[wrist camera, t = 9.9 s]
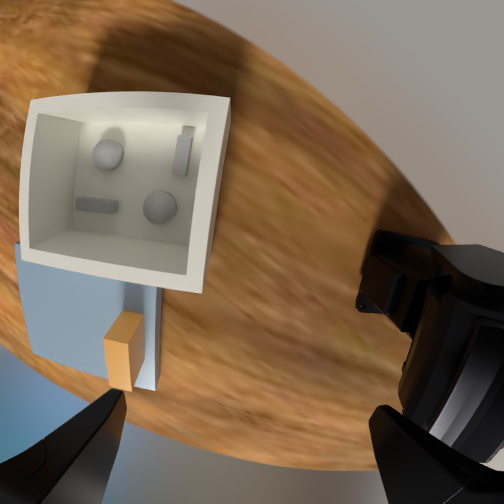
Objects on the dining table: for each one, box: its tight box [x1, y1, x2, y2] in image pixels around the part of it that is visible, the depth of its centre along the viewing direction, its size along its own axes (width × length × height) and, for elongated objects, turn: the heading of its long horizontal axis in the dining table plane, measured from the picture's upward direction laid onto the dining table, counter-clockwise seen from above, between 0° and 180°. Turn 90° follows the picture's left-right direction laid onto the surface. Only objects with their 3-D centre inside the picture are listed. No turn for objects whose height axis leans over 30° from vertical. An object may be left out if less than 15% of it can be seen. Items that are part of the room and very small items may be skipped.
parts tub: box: [19, 92, 231, 293], centre depth 14 cm, size 11×9×6 cm
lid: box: [15, 241, 163, 392], centre depth 17 cm, size 12×10×6 cm
